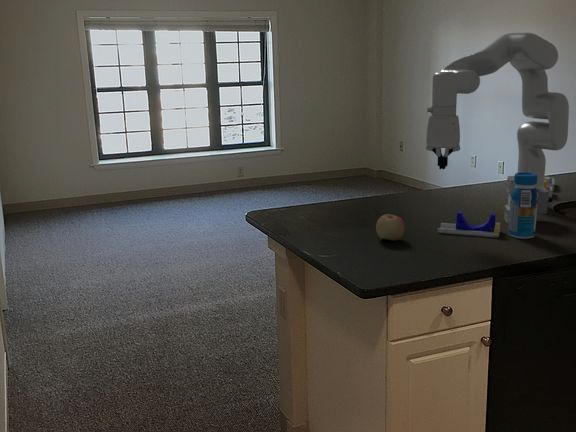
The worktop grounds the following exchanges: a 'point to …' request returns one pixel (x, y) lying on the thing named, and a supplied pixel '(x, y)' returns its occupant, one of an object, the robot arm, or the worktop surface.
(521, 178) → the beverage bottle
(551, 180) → the cup tray
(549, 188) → the clamp tray
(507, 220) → the circuit breaker
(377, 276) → the worktop surface
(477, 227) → the blue plastic bracket
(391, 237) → the apple
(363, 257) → the worktop surface
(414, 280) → the worktop surface
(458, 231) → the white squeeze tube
